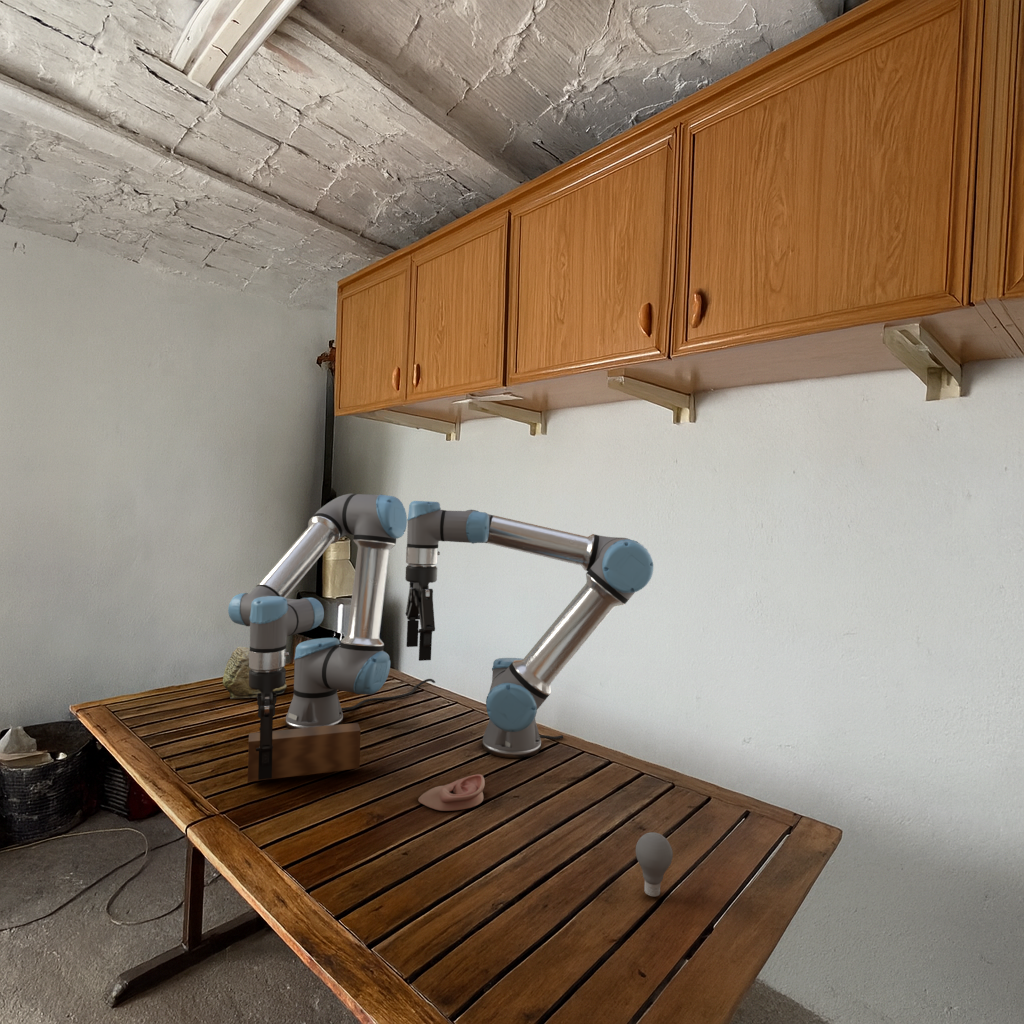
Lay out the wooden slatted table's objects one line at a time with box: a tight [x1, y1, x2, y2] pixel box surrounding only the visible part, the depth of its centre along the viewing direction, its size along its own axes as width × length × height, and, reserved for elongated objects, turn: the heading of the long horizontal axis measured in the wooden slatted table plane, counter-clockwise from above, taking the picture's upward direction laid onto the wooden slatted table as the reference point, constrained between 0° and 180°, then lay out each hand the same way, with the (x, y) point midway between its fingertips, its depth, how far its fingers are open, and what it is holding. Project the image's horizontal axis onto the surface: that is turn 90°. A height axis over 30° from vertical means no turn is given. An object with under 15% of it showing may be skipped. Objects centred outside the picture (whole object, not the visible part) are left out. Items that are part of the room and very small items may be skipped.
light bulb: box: [635, 831, 674, 897], centre depth 105 cm, size 6×6×10 cm
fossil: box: [222, 646, 288, 699], centre depth 198 cm, size 9×18×15 cm, turn 132°
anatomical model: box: [417, 773, 486, 812], centre depth 135 cm, size 13×4×12 cm
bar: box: [247, 722, 362, 783], centre depth 142 cm, size 24×5×9 cm, turn 111°
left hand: (265, 772), depth 139 cm, fingers closed on bar, 5 cm apart
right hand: (418, 653), depth 152 cm, fingers open, 13 cm apart
